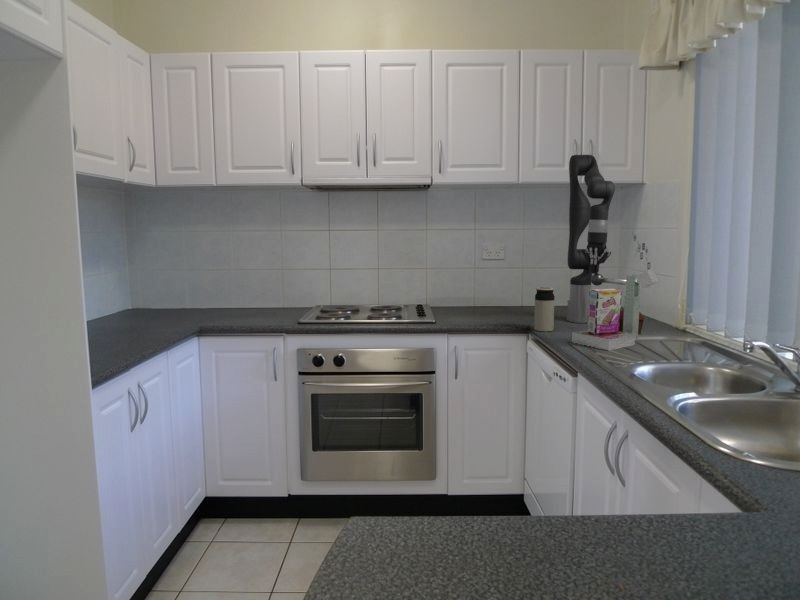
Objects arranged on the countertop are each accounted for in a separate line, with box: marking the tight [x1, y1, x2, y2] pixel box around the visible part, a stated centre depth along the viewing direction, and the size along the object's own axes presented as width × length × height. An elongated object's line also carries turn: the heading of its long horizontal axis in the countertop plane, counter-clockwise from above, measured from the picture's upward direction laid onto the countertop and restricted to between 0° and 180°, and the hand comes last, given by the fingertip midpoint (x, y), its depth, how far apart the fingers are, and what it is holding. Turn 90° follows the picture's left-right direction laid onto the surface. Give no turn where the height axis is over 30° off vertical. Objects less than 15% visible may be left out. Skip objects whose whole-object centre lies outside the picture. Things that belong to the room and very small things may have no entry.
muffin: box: [619, 308, 645, 335], centre depth 229 cm, size 12×11×10 cm
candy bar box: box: [586, 288, 623, 335], centre depth 208 cm, size 11×5×16 cm, turn 110°
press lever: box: [591, 269, 659, 289], centre depth 219 cm, size 25×5×14 cm, turn 34°
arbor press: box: [571, 274, 641, 351], centre depth 211 cm, size 16×26×25 cm, turn 125°
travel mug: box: [533, 286, 556, 333], centre depth 236 cm, size 8×8×18 cm
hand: (594, 273), depth 229 cm, fingers closed
